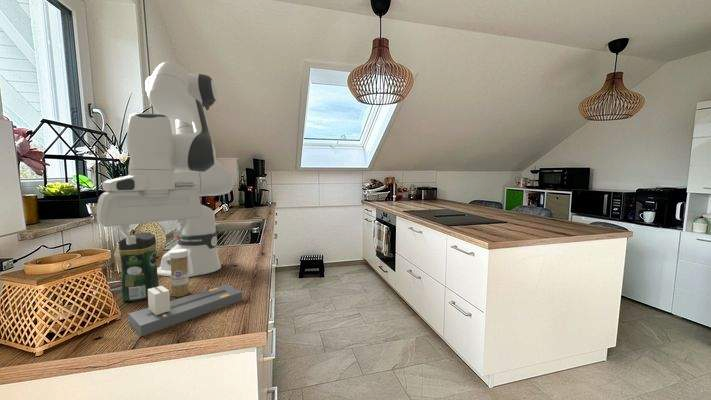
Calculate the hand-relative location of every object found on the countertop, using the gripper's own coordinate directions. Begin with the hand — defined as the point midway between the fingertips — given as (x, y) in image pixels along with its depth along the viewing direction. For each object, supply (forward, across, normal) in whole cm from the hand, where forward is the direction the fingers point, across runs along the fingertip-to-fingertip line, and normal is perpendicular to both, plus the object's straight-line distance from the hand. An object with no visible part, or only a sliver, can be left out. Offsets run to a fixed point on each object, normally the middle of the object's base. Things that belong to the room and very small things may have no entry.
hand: (155, 240), depth 68 cm
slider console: (+20, -7, 0) cm, 21 cm away
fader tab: (+17, 0, 0) cm, 17 cm away
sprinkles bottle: (+20, -10, -14) cm, 26 cm away
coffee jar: (+20, -2, -22) cm, 30 cm away
